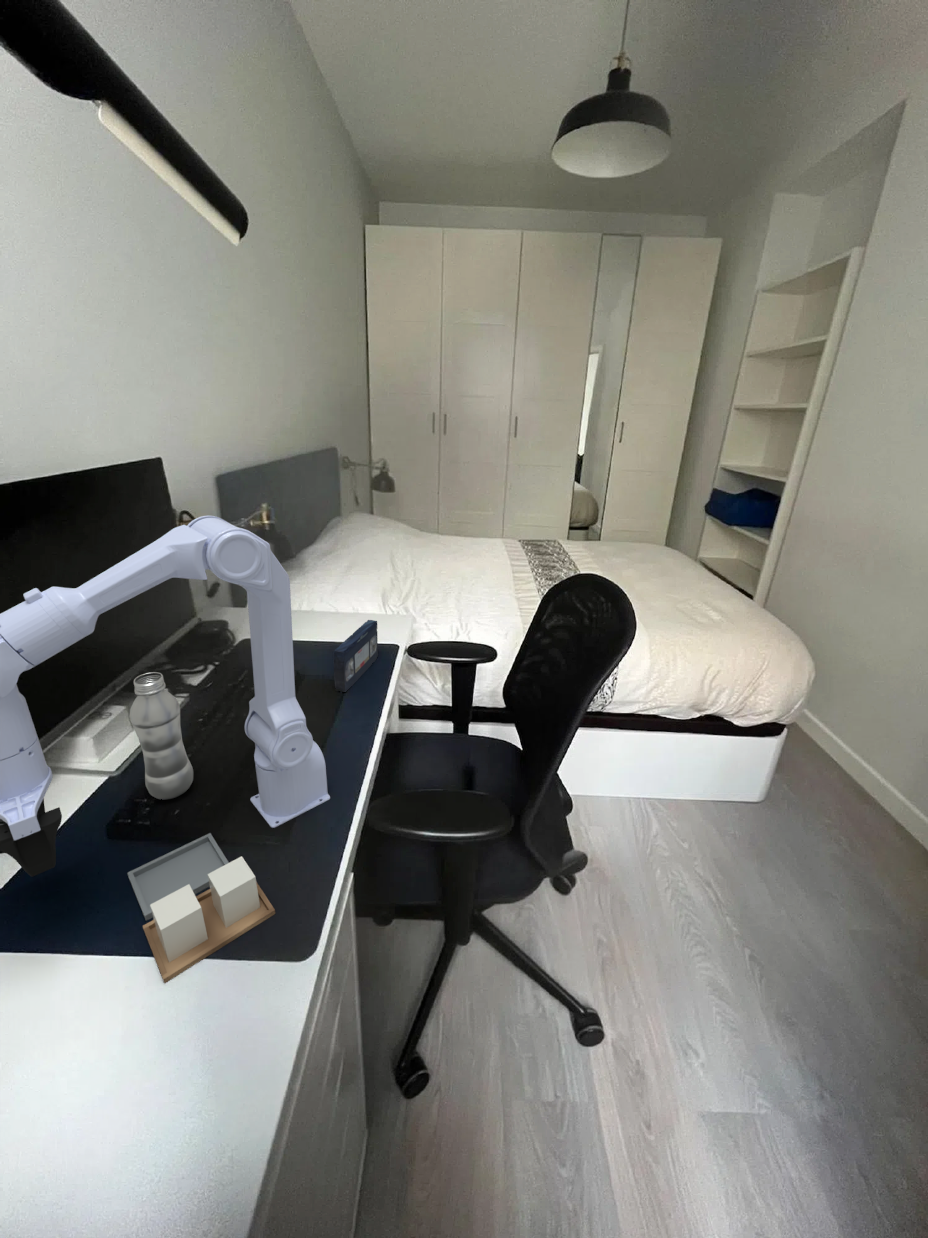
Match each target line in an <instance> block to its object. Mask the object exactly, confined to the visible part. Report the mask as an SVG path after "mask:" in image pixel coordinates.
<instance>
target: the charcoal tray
mask: <svg viewBox="0 0 928 1238" xmlns="http://www.w3.org/2000/svg"><path fill="white" fill-rule="evenodd" d="M228 863H230V862H229V860H228V859H227V858H226V856H225V854H224V853H223V851H222V849H221V847H220V846H219V845H218V843H217V841H216V840H215V838H214V837H213V835H212V833H211V832H209V833H207V834H205V835H203V836H201V837H199V838H196V839H195V840H192V841H191V842H188V843H186V844H184V845H182V846H181V847H178V848H176V849H174V850H172V851H170V852H169V851H168V853H166V854H164V855H161V856H159V857H157V858H155V859H152V860H151V861H149V862H147V863H144V864H142V865H141V866H139V867H136V868H134V869H131V870H130V871H128V872H127V876H128V879H129V882H130V884H131V887H132V890H133V892H134V894H135V897H136V900H137V902H138V904H139V907H140V909H141V911H142V915H143V917H144V919H145V921H146V922H147V921H149V920H151V919H154V918H153V915H152V911H151V907H150V904H152V903H154V902H156V901H158V900H160V899H162V898H164V897H166V896H167V895H169V894H171V893H173V892H175V891H177V890H179V889H181V888H183V887H184V886H186V885H188V884H189V885H190V887H191V889H192V891H193V892H194V894H195V895H197V894H198V893H201V892H202V891H204V890H206V889H208V888H210V884H209V879H208V874H209V873H211V872H213V871H215V870H217V869H218V868H220V867H222V866H224V865H226V864H228Z"/></svg>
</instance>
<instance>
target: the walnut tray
mask: <svg viewBox="0 0 928 1238" xmlns="http://www.w3.org/2000/svg"><path fill="white" fill-rule="evenodd" d="M256 883H257V890H258V897H259V903H260V908H258V909H256V910H255V911H253V912H252V913H250V914H248V915H247V916H245V917H243V918H242V919H240V920H238V921H237V922H235V923H233V924H232V925H230V926H228V927H227V928H226V927H225V925H224V923H223V921H222V919H221V918H220V916H219V914H218V912H217V910H216V908H215V907H214V905H213V900H212V895H211V890H210V888H209V889H207V890H205V891H204V892H200V894H198V895H195V896H196V898H197V900H198V902H199V904H200V906H201V909H202V913H203V918H204V923H205V927H206V932H207V937H208V939H207V940H205V941H204V942H202V943H201V944H199V945H197V946H196V947H194V948H192V949H191V950H189V951H187V952H186V953H184V954H182V955H181V956H179V957H178V958H176V959H174V960H173V961H171V962H169V961H168V959H167V956H166V954H165V951H164V949H163V947H162V944H161V942H160V939H159V937H158V933H157V930H156V926H155V922H154V919H152V920H151V921H149V922H146V923H145V924H143V925H142V929H143V932H144V934H145V936H146V937H145V938H146V940H147V943H148V945H149V947H150V950H151V952H152V955H153V958H154V961H155V963H156V966H157V968H158V971H159V973H160V976H161V978H162V981H163V983H164V984H166V983H168V982H170V981H171V980H172V979H175V978H176V977H177V976H179V975H181V974H183V973H184V972H185V971H186V970H188V969H190V968H192V967H194V966H195V965H196V964H198V963H200V962H202V961H203V960H204V959H206V958H208V957H209V956H211V955H213V954H214V953H216V952H217V951H219V950H220V949H222V948H223V947H225V946H226V945H228V944H231V943H232V942H233V941H235V940H236V939H237V938H239V937H241V936H242V935H244V934H246V933H247V932H249V931H250V930H252V929H253V928H255V927H257V926H259V925H260V924H262V923H264V922H265V921H266V920H268V919H270V918H271V917H273V916H274V915H275V914H276V910H275V908H274V906H273V905H272V903H271V902H270V900H269V899H268V897H267V896H266V893H264V890H263V889H262V888H261V887H260V884H258V882H257V881H256Z"/></svg>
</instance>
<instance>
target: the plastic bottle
mask: <svg viewBox="0 0 928 1238" xmlns="http://www.w3.org/2000/svg"><path fill="white" fill-rule="evenodd" d="M133 685H134V686H133V687H134V691H133V692H134V694H135V695H136V698H135V699H134V701H133V702H132V704H131V707H130V709H129V714H128V715H129V721H130V723H131V726H132V728H133V730H134V732H135V734H136V736H137V738H138V741H139V744H140V747H141V750H142V754H143V755H142V756H143V762H144V782H145V783H144V784H145V787H146V791H148V793H149V795H150V796H152V797H154V798H156V799H157V800H161V799H162V801H163V800H172V799H174V798H177V797H179V796H182V795H183V794H185V793H186V792H187V790H188V789H190V787H191V785H192V783H193V781H194V769H193V766H192V764H191V761H190V759H189V757H188V755H187V752H186V749H185V746H184V742H183V736H182V728H181V707H180V703H179V701H178V699H177V697H175V696H174V694H172V693H171V692H169V691H167V690H166V682H165V679H164V675H163V673H161V672H157V671H153V672H145V673H143V674H139V675H138V676H136V677H135V678H134V679H133Z"/></svg>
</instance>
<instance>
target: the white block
mask: <svg viewBox="0 0 928 1238" xmlns="http://www.w3.org/2000/svg"><path fill="white" fill-rule="evenodd" d="M196 896H197V895H196V894H194V892H193V891H192V889H191V887H190V885H189V884H188V885H186V886H184V887H183V888H181V889H179V890H177V891H175V892H173V893H171V894H169V895H167V896H166V897H164V898H162V899H160V900H158V901H156V902H154V903H152V904H150V907H151V911H152V915H153V918H152V919H153V920H154V922H155V926H156V930H157V933H158V937H159V939H160V942H161V944H162V947H163V949H164V951H165V954H166V956H167V959H168V961H169V962H171V961H173V960H174V959H176V958H178V957H179V956H181V955H182V954H184V953H186V952H187V951H189V950H191V949H192V948H194V947H196V946H197V945H199V944H201V943H202V942H204V941H205V940H207V939H208V937H207V932H206V927H205V923H204V918H203V913H202V909H201V906H200V904H199V902H198V900H197V898H196Z"/></svg>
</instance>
